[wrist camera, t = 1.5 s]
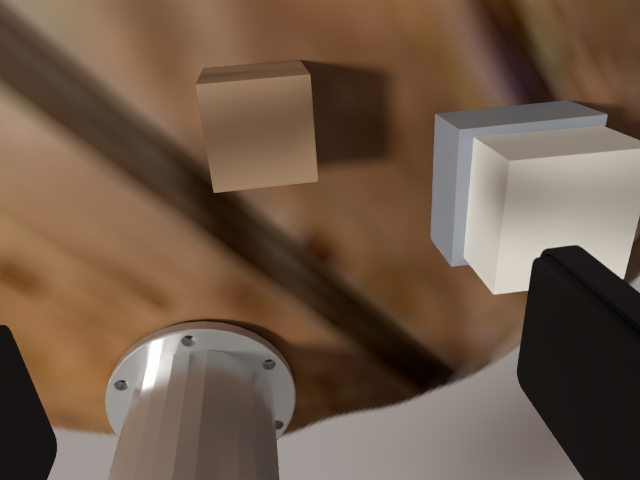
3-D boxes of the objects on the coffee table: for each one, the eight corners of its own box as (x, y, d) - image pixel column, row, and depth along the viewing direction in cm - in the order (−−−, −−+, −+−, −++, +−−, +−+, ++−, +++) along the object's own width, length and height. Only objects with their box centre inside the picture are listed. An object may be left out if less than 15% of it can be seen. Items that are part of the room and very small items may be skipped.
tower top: (578, 244, 30) (623, 278, 26) (463, 257, 29) (493, 294, 26) (602, 125, 27) (656, 146, 23) (473, 137, 26) (509, 160, 23)
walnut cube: (306, 151, 29) (318, 181, 25) (218, 160, 29) (213, 192, 24) (299, 59, 27) (310, 74, 23) (203, 68, 27) (195, 84, 22)
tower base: (546, 222, 34) (582, 250, 30) (428, 236, 33) (451, 266, 30) (564, 99, 30) (607, 114, 27) (433, 112, 30) (459, 129, 26)
